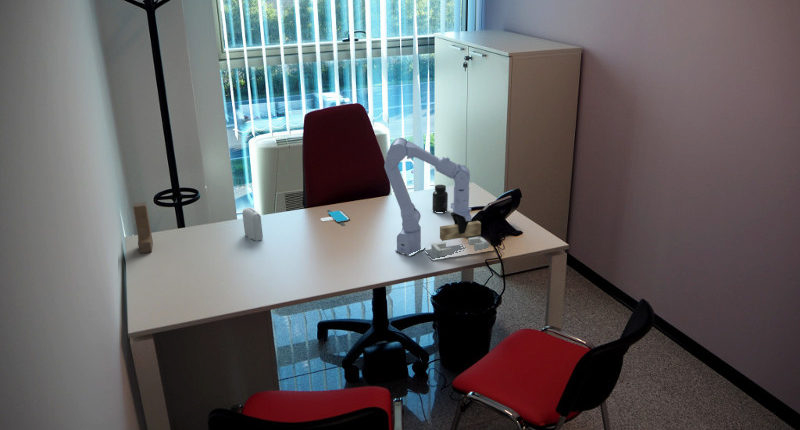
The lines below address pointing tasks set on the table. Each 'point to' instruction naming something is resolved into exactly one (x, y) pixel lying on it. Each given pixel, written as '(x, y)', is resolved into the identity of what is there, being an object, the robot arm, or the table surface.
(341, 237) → the table surface
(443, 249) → the cradle
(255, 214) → the photo printer
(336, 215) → the phone stand
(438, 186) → the supplement bottle
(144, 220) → the wooden block
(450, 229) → the slat
